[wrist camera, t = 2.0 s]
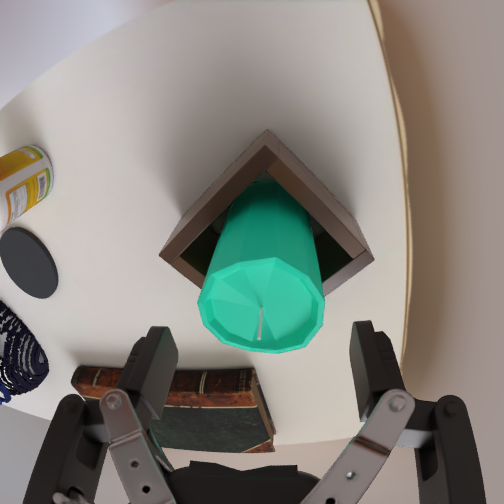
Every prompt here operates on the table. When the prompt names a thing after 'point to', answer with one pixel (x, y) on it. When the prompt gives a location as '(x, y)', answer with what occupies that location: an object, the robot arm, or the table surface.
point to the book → (200, 409)
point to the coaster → (28, 263)
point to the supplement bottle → (23, 182)
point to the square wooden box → (299, 187)
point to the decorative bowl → (11, 374)
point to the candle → (264, 275)
